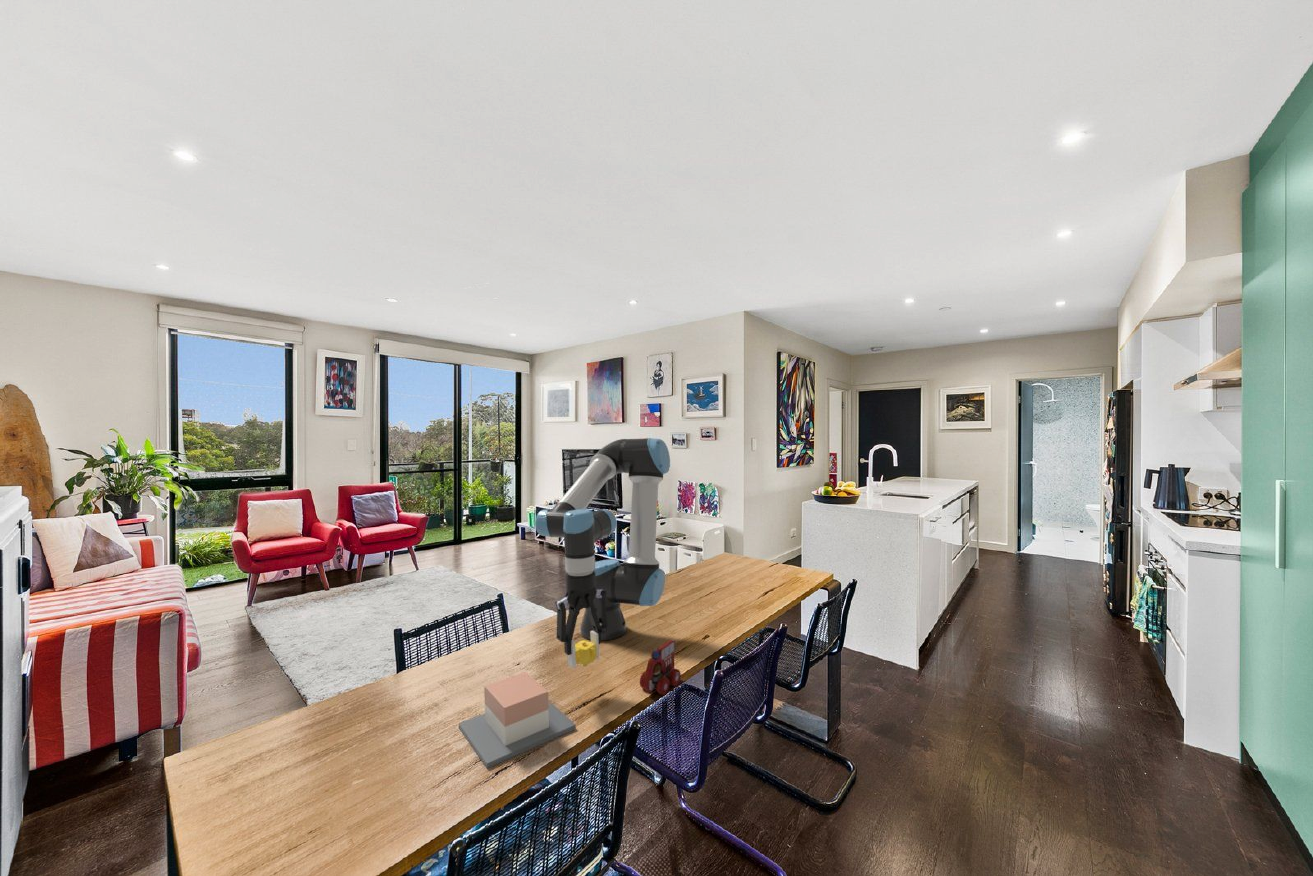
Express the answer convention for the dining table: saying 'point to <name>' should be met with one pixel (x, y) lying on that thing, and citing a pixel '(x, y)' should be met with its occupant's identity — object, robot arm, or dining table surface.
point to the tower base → (505, 752)
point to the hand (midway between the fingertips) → (583, 661)
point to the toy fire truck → (661, 670)
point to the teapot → (585, 652)
